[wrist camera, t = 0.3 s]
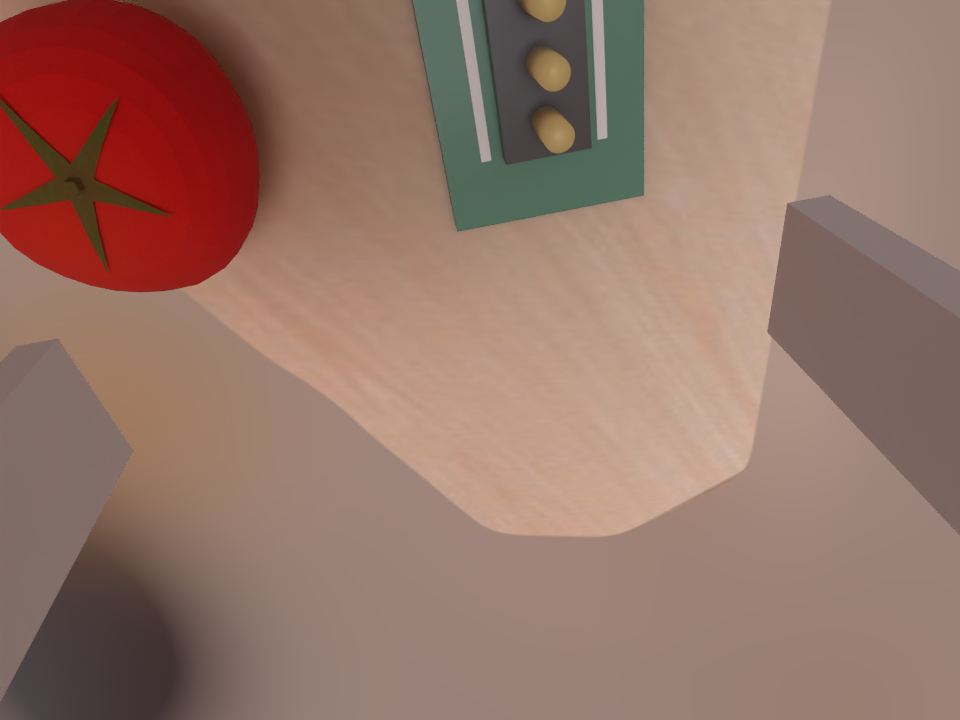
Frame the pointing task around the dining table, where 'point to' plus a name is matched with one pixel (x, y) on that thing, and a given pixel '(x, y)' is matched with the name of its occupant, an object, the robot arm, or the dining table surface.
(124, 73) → the tomato
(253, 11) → the dining table surface
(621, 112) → the pcb
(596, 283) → the dining table surface
